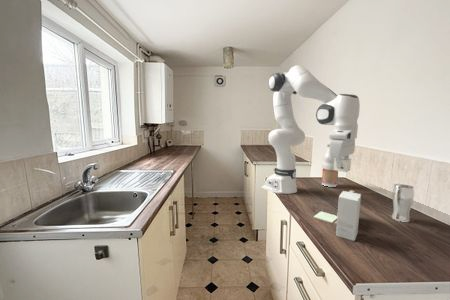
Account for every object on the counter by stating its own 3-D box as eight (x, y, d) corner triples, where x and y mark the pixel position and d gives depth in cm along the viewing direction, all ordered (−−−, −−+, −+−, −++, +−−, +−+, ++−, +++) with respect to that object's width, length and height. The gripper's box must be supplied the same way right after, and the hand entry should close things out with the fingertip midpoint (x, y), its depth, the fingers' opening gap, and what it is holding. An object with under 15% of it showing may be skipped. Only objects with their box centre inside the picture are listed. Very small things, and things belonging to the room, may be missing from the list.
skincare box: (340, 227, 86) (342, 190, 84) (359, 232, 82) (362, 193, 80) (335, 236, 80) (337, 196, 78) (355, 242, 76) (358, 199, 74)
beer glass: (403, 223, 89) (406, 189, 87) (386, 216, 96) (389, 184, 94) (415, 221, 91) (418, 187, 89) (398, 215, 97) (401, 183, 96)
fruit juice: (328, 188, 138) (330, 145, 134) (318, 184, 147) (320, 144, 143) (340, 187, 140) (343, 145, 136) (330, 183, 149) (332, 143, 145)
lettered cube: (333, 170, 91) (334, 158, 90) (337, 168, 94) (338, 156, 94) (346, 172, 87) (347, 160, 87) (350, 170, 91) (351, 158, 90)
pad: (313, 217, 96) (313, 216, 96) (320, 212, 101) (320, 211, 101) (332, 223, 90) (332, 222, 90) (338, 217, 96) (338, 216, 96)
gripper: (344, 132, 98) (341, 161, 100) (327, 134, 84) (324, 168, 86) (360, 133, 94) (357, 163, 96) (345, 135, 79) (341, 171, 81)
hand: (341, 166), depth 91 cm, fingers closed on lettered cube, 5 cm apart
